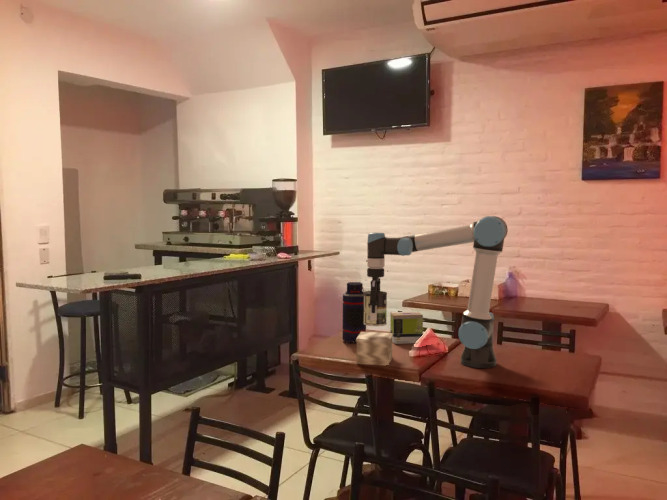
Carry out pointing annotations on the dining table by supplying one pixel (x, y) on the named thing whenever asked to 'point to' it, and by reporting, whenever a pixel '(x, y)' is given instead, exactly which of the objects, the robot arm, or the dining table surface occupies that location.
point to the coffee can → (380, 309)
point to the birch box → (374, 348)
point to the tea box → (406, 327)
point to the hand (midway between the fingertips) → (375, 317)
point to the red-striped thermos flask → (353, 312)
